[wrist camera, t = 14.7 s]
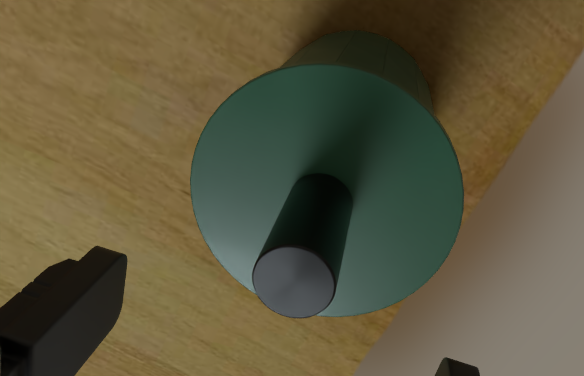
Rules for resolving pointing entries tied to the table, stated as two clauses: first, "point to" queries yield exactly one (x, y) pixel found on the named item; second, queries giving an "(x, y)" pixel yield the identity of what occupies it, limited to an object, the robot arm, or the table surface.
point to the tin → (368, 58)
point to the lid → (327, 189)
